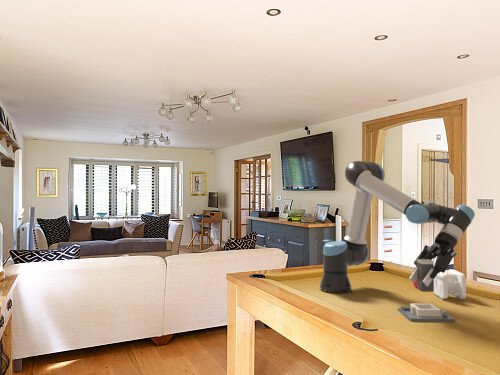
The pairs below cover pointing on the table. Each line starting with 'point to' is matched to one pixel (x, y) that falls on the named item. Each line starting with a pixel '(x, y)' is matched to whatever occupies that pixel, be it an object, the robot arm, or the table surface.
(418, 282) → the tall square peg
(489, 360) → the table surface
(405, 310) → the board
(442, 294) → the white notched block
